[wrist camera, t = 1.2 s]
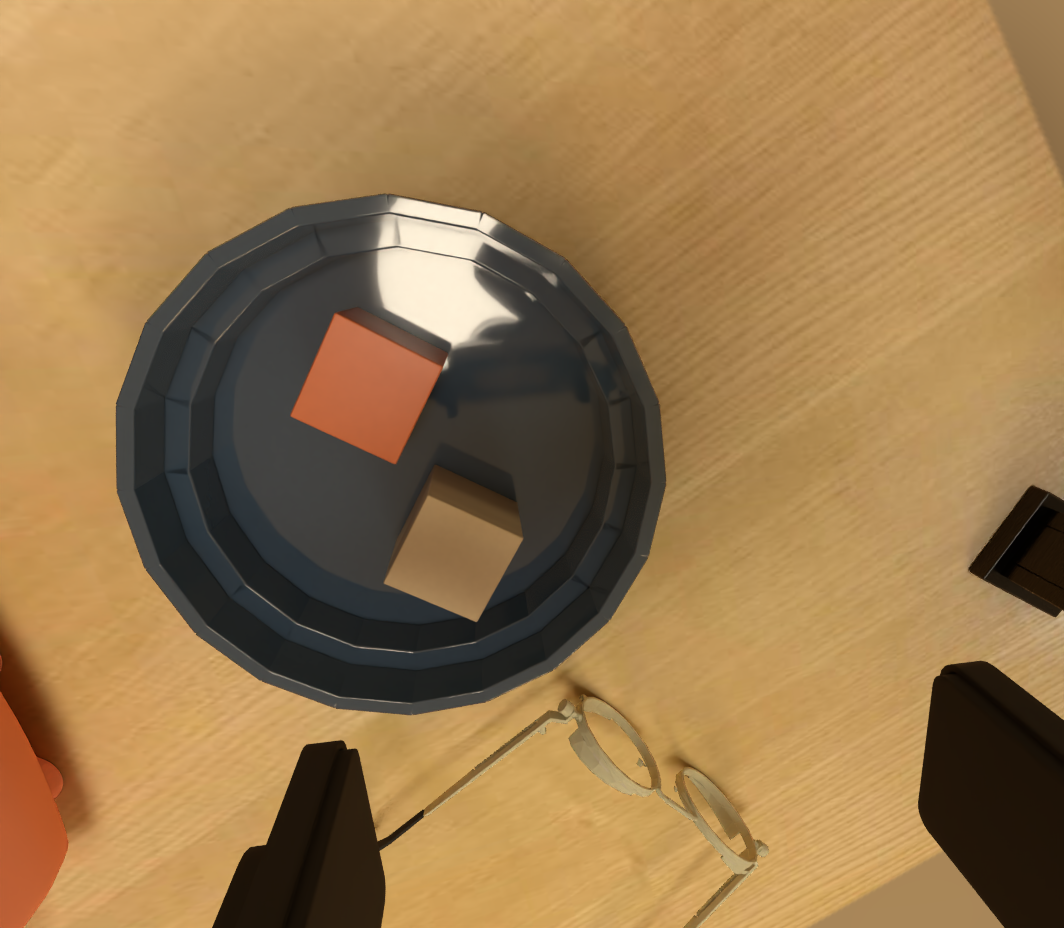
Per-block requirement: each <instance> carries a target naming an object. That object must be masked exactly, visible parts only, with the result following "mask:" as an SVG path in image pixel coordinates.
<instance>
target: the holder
mask: <svg viewBox="0 0 1064 928" xmlns="http://www.w3.org/2000/svg"><path fill="white" fill-rule="evenodd" d="M969 571H970V572H971V573H973V574H975V575H976V576H978V577H980V578H981V579H983V580H985V581H987V582H989V583H990V584H992V585H994V586H996V587H998V588H1000V589H1002V590H1004V591H1006V592H1007V593H1009V594H1011V595H1013V596H1015V597H1017V598H1019V599H1021V600H1023V601H1024V602H1026V603H1028V604H1030V605H1032V606H1034V607H1036V608H1038V609H1040V610H1042V611H1043V612H1045V613H1047V614H1049V615H1051V616H1053V617H1057V616H1058V614H1059V613H1060V612H1061V611H1062V610H1063V611H1064V500H1062V499H1060V498H1058V497H1057V496H1055V495H1053V494H1052V493H1050V492H1048V491H1045V490H1042V489H1040V488H1037V487H1034V486H1032V487H1031V488H1030V489H1029V490H1028V492H1027V493H1026V494H1025V496H1024V497H1023V498H1022V500H1021V501H1020V502H1019V504H1018V505H1017V506H1016V508H1015V509H1014V510H1013V512H1012V513H1011V514H1010V516H1009V517H1008V518H1007V520H1006V521H1005V522H1004V524H1003V525H1002V526H1001V528H1000V529H999V530H998V532H997V533H996V534H995V536H994V537H993V538H992V540H991V541H990V542H989V544H988V545H987V546H986V548H985V549H984V550H983V552H982V553H981V555H980V556H979V557H978V559H977V560H976V561H975V563H974V564H973V565H972V567H971V568H970V569H969Z"/></svg>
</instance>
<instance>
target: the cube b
mask: <svg viewBox="0 0 1064 928" xmlns="http://www.w3.org/2000/svg"><path fill="white" fill-rule="evenodd" d="M522 540H523V534H522V528H521V522H520V516H519V511H518V505H517V502H515V501H513V500H511V499H509V498H506V497H504V496H502V495H500V494H498V493H496V492H494V491H491V490H489V489H487V488H485V487H483V486H481V485H479V484H476V483H474V482H472V481H470V480H468V479H466V478H464V477H461V476H459V475H457V474H455V473H453V472H451V471H449V470H446V469H444V468H442V467H440V466H438V465H434V467H433V469H432V471H431V473H430V475H429V477H428V479H427V481H426V483H425V484H424V486H423V488H422V490H421V492H420V494H419V496H418V498H417V500H416V502H415V504H414V506H413V508H412V510H411V512H410V514H409V516H408V518H407V520H406V522H405V524H404V526H403V528H402V530H401V532H400V534H399V536H398V538H397V540H396V543H395V546H394V550H393V553H392V556H391V559H390V562H389V566H388V569H387V572H386V575H385V579H384V584H386V585H389V586H391V587H394V588H396V589H398V590H401V591H403V592H406V593H408V594H410V595H413V596H415V597H418V598H420V599H422V600H425V601H427V602H430V603H432V604H434V605H437V606H439V607H442V608H444V609H446V610H449V611H451V612H454V613H456V614H458V615H461V616H463V617H466V618H468V619H470V620H473V621H475V622H477V621H478V620H479V618H480V616H481V614H482V612H483V611H484V609H485V607H486V605H487V603H488V602H489V600H490V598H491V596H492V594H493V593H494V591H495V589H496V587H497V585H498V584H499V582H500V580H501V578H502V576H503V575H504V573H505V571H506V569H507V567H508V565H509V564H510V562H511V560H512V558H513V556H514V555H515V553H516V551H517V549H518V547H519V546H520V544H521V542H522Z"/></svg>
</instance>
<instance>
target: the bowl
mask: <svg viewBox="0 0 1064 928" xmlns="http://www.w3.org/2000/svg"><path fill="white" fill-rule="evenodd" d="M356 307H358V308H360V309H362V310H364V311H366V312H368V313H370V314H372V315H374V316H376V317H378V318H380V319H382V320H384V321H386V322H388V323H390V324H392V325H394V326H396V327H398V328H400V329H402V330H404V331H406V332H408V333H410V334H411V335H413V336H415V337H417V338H419V339H421V340H423V341H425V342H427V343H429V344H431V345H433V346H435V347H437V348H439V349H441V350H443V351H445V352H447V353H448V356H447V359H446V361H445V364H444V366H443V369H442V371H441V373H440V375H439V377H438V379H437V381H436V383H435V385H434V387H433V389H432V392H431V394H430V396H429V398H428V400H427V402H426V404H425V406H424V408H423V410H422V412H421V414H420V416H419V418H418V420H417V422H416V424H415V426H414V429H413V431H412V433H411V435H410V437H409V439H408V441H407V443H406V445H405V447H404V449H403V451H402V453H401V455H400V457H399V459H398V461H397V463H396V464H393V463H390V462H388V461H386V460H384V459H382V458H380V457H377V456H375V455H373V454H371V453H369V452H366V451H364V450H362V449H360V448H358V447H356V446H353V445H351V444H349V443H347V442H345V441H343V440H340V439H338V438H336V437H334V436H332V435H329V434H327V433H325V432H323V431H321V430H319V429H316V428H314V427H312V426H310V425H308V424H306V423H303V422H301V421H299V420H297V419H295V418H293V417H291V416H290V414H291V412H292V409H293V407H294V405H295V403H296V400H297V398H298V396H299V393H300V391H301V389H302V386H303V384H304V382H305V380H306V377H307V375H308V373H309V370H310V368H311V366H312V364H313V361H314V359H315V357H316V354H317V352H318V350H319V347H320V345H321V343H322V341H323V338H324V336H325V334H326V331H327V329H328V327H329V324H330V322H331V320H332V318H333V315H334V313H336V312H340V311H344V310H348V309H352V308H356ZM116 404H117V405H116V478H117V494H118V496H119V499H120V502H121V505H122V507H123V510H124V513H125V516H126V518H127V521H128V524H129V527H130V529H131V532H132V535H133V538H134V540H135V543H136V546H137V549H138V552H139V554H140V557H141V560H142V563H143V565H144V568H146V571H147V572H148V573H149V575H150V576H151V577H152V579H153V580H154V581H155V582H156V584H157V585H158V586H159V588H160V589H161V590H162V591H163V593H164V594H165V595H166V597H167V598H168V599H169V600H170V602H171V603H172V604H173V606H174V607H175V608H176V610H177V611H178V612H179V613H180V615H181V616H182V617H183V619H184V620H185V621H186V622H187V624H188V625H189V626H190V628H191V629H192V630H193V631H194V633H196V635H197V636H199V637H200V638H201V639H203V640H204V641H206V642H207V643H208V644H210V645H211V646H213V647H214V648H215V649H217V650H218V651H219V652H221V653H222V654H224V655H225V656H226V657H228V658H229V659H231V660H232V661H233V662H235V663H236V664H238V665H239V666H240V667H242V668H243V669H245V670H246V671H247V672H249V673H250V674H251V675H253V676H254V677H256V678H257V679H258V680H260V681H261V680H262V682H265V683H267V684H270V685H273V686H276V687H278V688H281V689H284V690H287V691H289V692H292V693H295V694H297V695H300V696H303V697H306V698H308V699H311V700H314V701H317V702H319V703H322V704H325V705H327V706H330V707H333V708H336V709H346V710H357V711H369V712H380V713H391V714H402V715H412V714H413V715H417V714H422V713H428V712H434V711H439V710H445V709H451V708H456V707H462V706H468V705H473V704H479V703H485V702H487V701H490V700H492V699H494V698H496V697H499V696H501V695H503V694H505V693H507V692H509V691H511V690H513V689H515V688H517V687H520V686H522V685H524V684H526V683H528V682H530V681H532V680H534V679H536V678H538V677H541V676H543V675H545V674H547V673H549V672H551V671H553V670H554V669H556V668H557V667H558V666H559V665H560V664H562V663H563V662H564V661H565V660H566V659H567V658H568V657H569V656H571V655H572V654H573V653H574V652H575V651H576V650H577V649H578V648H580V647H581V646H582V645H583V644H584V643H585V642H586V641H587V640H589V639H590V638H591V637H592V636H593V635H594V634H595V633H597V632H598V631H599V630H600V629H601V628H602V627H603V626H604V625H606V624H607V623H608V622H609V620H610V619H611V618H612V616H613V615H614V613H615V611H616V610H617V608H618V606H619V605H620V603H621V601H622V600H623V598H624V597H625V595H626V593H627V592H628V590H629V588H630V587H631V585H632V583H633V582H634V580H635V579H636V577H637V575H638V574H639V572H640V570H641V569H642V567H643V565H644V564H645V562H646V561H647V559H648V556H649V553H650V549H651V545H652V541H653V537H654V532H655V528H656V524H657V520H658V516H659V512H660V508H661V503H662V499H663V495H664V491H665V487H666V471H665V460H664V448H663V436H662V424H661V412H660V404H659V400H658V398H657V396H656V393H655V391H654V389H653V386H652V384H651V382H650V379H649V377H648V375H647V373H646V370H645V368H644V366H643V363H642V361H641V359H640V356H639V354H638V352H637V349H636V347H635V345H634V343H633V340H632V338H631V336H630V333H629V331H628V329H627V327H626V326H625V324H624V322H623V321H622V320H621V319H620V318H619V317H618V316H617V315H616V314H615V312H614V311H613V310H612V309H611V308H610V307H609V306H608V305H607V304H606V302H605V301H604V300H603V299H602V298H601V297H600V296H599V295H598V294H597V292H596V291H595V290H594V289H593V288H592V287H591V286H590V285H589V284H588V282H587V281H586V280H585V279H584V278H583V277H582V276H581V275H580V274H579V273H578V271H577V270H576V269H575V268H574V267H573V266H572V265H571V264H570V263H569V261H568V260H566V259H565V258H564V257H563V256H561V255H559V254H557V253H556V252H554V251H552V250H550V249H549V248H547V247H545V246H543V245H541V244H540V243H538V242H536V241H534V240H533V239H531V238H529V237H527V236H526V235H524V234H522V233H520V232H518V231H517V230H515V229H513V228H511V227H510V226H508V225H506V224H504V223H503V222H501V221H499V220H497V219H495V218H494V217H492V216H490V215H488V214H487V213H485V212H483V213H482V212H481V211H477V210H472V209H467V208H462V207H457V206H451V205H446V204H441V203H436V202H431V201H425V200H420V199H415V198H410V197H405V196H399V195H394V194H388V195H387V194H378V195H371V196H364V197H357V198H351V199H344V200H337V201H330V202H323V203H316V204H309V205H302V206H295V207H292V208H288V209H286V210H284V211H283V212H281V213H279V214H277V215H275V216H273V217H271V218H269V219H268V220H266V221H264V222H262V223H260V224H258V225H256V226H255V227H253V228H251V229H249V230H247V231H245V232H243V233H241V234H240V235H238V236H236V237H234V238H232V239H230V240H228V241H226V242H225V243H223V244H221V245H219V246H217V247H215V248H213V249H212V250H210V251H208V252H207V253H206V254H205V255H204V256H203V257H202V258H201V259H200V260H199V261H198V263H197V264H196V265H195V266H194V267H193V268H192V269H191V271H190V272H189V273H188V274H187V275H186V276H185V277H184V279H183V280H182V281H181V282H180V283H179V284H178V286H177V287H176V288H175V289H174V290H173V291H172V292H171V294H170V295H169V296H168V297H167V298H166V299H165V300H164V302H163V303H162V304H161V305H160V306H159V307H158V308H157V310H156V311H155V312H154V313H153V314H152V315H151V316H150V318H149V319H148V320H147V322H146V323H145V325H144V328H143V331H142V334H141V336H140V339H139V342H138V345H137V347H136V350H135V353H134V356H133V358H132V361H131V364H130V366H129V369H128V372H127V375H126V377H125V380H124V383H123V386H122V388H121V391H120V394H119V397H118V399H117V402H116ZM434 465H438V466H440V467H442V468H444V469H446V470H449V471H451V472H453V473H455V474H457V475H459V476H461V477H464V478H466V479H468V480H470V481H472V482H474V483H476V484H479V485H481V486H483V487H485V488H487V489H489V490H491V491H494V492H496V493H498V494H500V495H502V496H504V497H506V498H509V499H511V500H513V501H515V502H517V505H518V511H519V516H520V522H521V528H522V534H523V540H522V542H521V544H520V546H519V547H518V549H517V551H516V553H515V555H514V556H513V558H512V560H511V562H510V564H509V565H508V567H507V569H506V571H505V573H504V575H503V576H502V578H501V580H500V582H499V584H498V585H497V587H496V589H495V591H494V593H493V594H492V596H491V598H490V600H489V602H488V603H487V605H486V607H485V609H484V611H483V612H482V614H481V616H480V618H479V620H478V621H477V622H475V621H473V620H470V619H468V618H466V617H463V616H461V615H458V614H456V613H454V612H451V611H449V610H446V609H444V608H442V607H439V606H437V605H434V604H432V603H430V602H427V601H425V600H422V599H420V598H418V597H415V596H413V595H410V594H408V593H406V592H403V591H401V590H398V589H396V588H394V587H391V586H389V585H386V584H384V579H385V575H386V572H387V569H388V566H389V562H390V559H391V556H392V553H393V550H394V546H395V543H396V540H397V538H398V536H399V534H400V532H401V530H402V528H403V526H404V524H405V522H406V520H407V518H408V516H409V514H410V512H411V510H412V508H413V506H414V504H415V502H416V500H417V498H418V496H419V494H420V492H421V490H422V488H423V486H424V484H425V483H426V481H427V479H428V477H429V475H430V473H431V471H432V469H433V467H434Z"/></svg>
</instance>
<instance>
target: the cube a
mask: <svg viewBox="0 0 1064 928" xmlns="http://www.w3.org/2000/svg"><path fill="white" fill-rule="evenodd" d="M447 356H448V353H447V352H445V351H443V350H441V349H439V348H437V347H435V346H433V345H431V344H429V343H427V342H425V341H423V340H421V339H419V338H417V337H415V336H413V335H411V334H410V333H408V332H406V331H404V330H402V329H400V328H398V327H396V326H394V325H392V324H390V323H388V322H386V321H384V320H382V319H380V318H378V317H376V316H374V315H372V314H370V313H368V312H366V311H364V310H362V309H360V308H358V307H356V308H352V309H348V310H344V311H340V312H336V313H334V315H333V318H332V320H331V322H330V324H329V327H328V329H327V331H326V334H325V336H324V338H323V341H322V343H321V345H320V347H319V350H318V352H317V354H316V357H315V359H314V361H313V364H312V366H311V368H310V370H309V373H308V375H307V377H306V380H305V382H304V384H303V386H302V389H301V391H300V393H299V396H298V398H297V400H296V403H295V405H294V407H293V409H292V412H291V414H290V416H291V417H293V418H295V419H297V420H299V421H301V422H303V423H306V424H308V425H310V426H312V427H314V428H316V429H319V430H321V431H323V432H325V433H327V434H329V435H332V436H334V437H336V438H338V439H340V440H343V441H345V442H347V443H349V444H351V445H353V446H356V447H358V448H360V449H362V450H364V451H366V452H369V453H371V454H373V455H375V456H377V457H380V458H382V459H384V460H386V461H388V462H390V463H393V464H396V463H397V461H398V459H399V457H400V455H401V453H402V451H403V449H404V447H405V445H406V443H407V441H408V439H409V437H410V435H411V433H412V431H413V429H414V426H415V424H416V422H417V420H418V418H419V416H420V414H421V412H422V410H423V408H424V406H425V404H426V402H427V400H428V398H429V396H430V394H431V392H432V389H433V387H434V385H435V383H436V381H437V379H438V377H439V375H440V373H441V371H442V369H443V366H444V364H445V361H446V359H447Z"/></svg>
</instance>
